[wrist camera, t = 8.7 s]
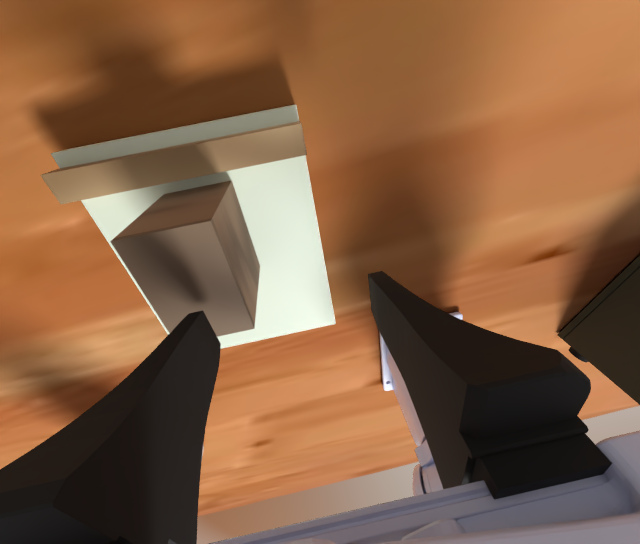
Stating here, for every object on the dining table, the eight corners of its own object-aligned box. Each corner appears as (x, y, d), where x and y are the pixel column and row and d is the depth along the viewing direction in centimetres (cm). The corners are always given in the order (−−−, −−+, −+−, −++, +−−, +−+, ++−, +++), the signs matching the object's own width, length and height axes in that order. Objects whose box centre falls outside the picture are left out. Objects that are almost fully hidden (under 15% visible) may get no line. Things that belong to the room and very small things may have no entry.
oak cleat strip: (304, 150, 16) (306, 154, 15) (78, 195, 16) (60, 204, 14) (299, 121, 15) (301, 123, 14) (60, 168, 15) (40, 175, 14)
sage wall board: (332, 312, 25) (335, 323, 24) (187, 343, 24) (182, 356, 23) (294, 104, 16) (296, 105, 15) (68, 148, 16) (50, 153, 15)
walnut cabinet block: (260, 266, 20) (254, 328, 14) (203, 277, 20) (177, 345, 14) (231, 180, 16) (210, 220, 11) (164, 194, 16) (110, 241, 11)
